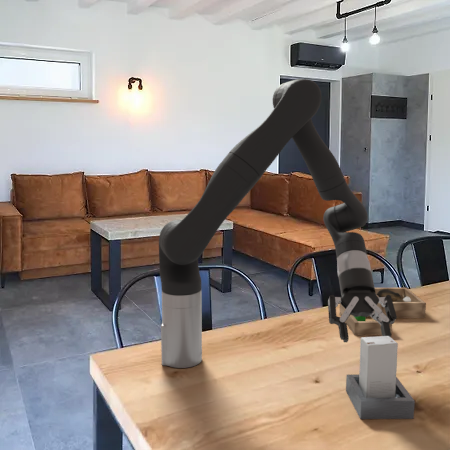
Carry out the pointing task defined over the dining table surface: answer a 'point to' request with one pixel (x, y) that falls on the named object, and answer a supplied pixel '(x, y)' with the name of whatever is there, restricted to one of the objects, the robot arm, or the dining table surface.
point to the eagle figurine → (393, 296)
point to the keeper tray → (380, 402)
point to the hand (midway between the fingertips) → (366, 341)
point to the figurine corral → (406, 304)
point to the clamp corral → (363, 325)
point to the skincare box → (378, 367)
